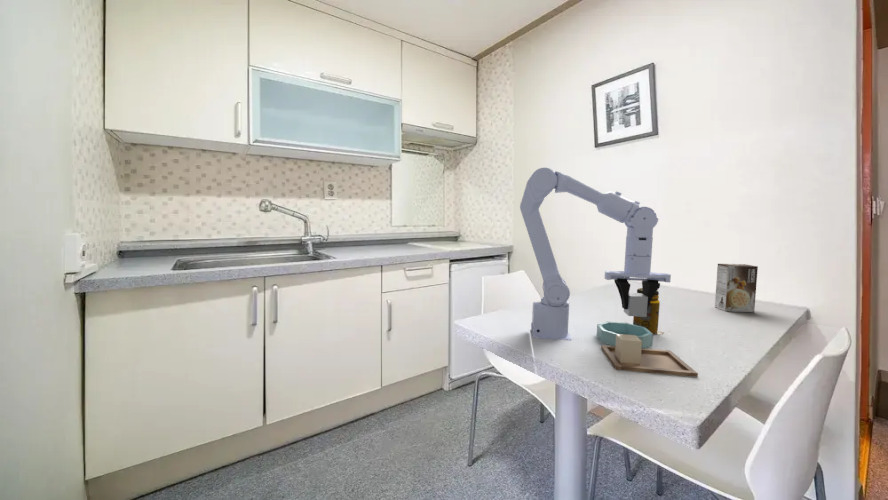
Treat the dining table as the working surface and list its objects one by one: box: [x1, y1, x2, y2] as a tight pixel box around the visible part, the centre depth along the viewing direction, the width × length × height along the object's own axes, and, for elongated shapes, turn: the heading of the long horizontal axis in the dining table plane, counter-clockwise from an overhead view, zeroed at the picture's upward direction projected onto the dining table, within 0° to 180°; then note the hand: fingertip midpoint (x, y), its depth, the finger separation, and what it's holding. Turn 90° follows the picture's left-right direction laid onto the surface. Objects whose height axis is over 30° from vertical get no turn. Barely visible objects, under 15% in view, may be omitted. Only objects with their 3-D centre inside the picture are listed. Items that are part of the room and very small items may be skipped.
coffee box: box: [714, 263, 759, 313], centre depth 120 cm, size 9×6×16 cm
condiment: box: [632, 287, 665, 335], centre depth 95 cm, size 7×8×12 cm
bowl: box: [596, 321, 654, 349], centre depth 87 cm, size 12×12×4 cm
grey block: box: [623, 292, 648, 317], centre depth 86 cm, size 4×4×5 cm
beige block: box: [615, 334, 642, 364], centre depth 75 cm, size 4×4×5 cm
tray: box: [600, 344, 699, 378], centre depth 75 cm, size 15×12×1 cm
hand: (634, 308), depth 86 cm, fingers closed on grey block, 4 cm apart
